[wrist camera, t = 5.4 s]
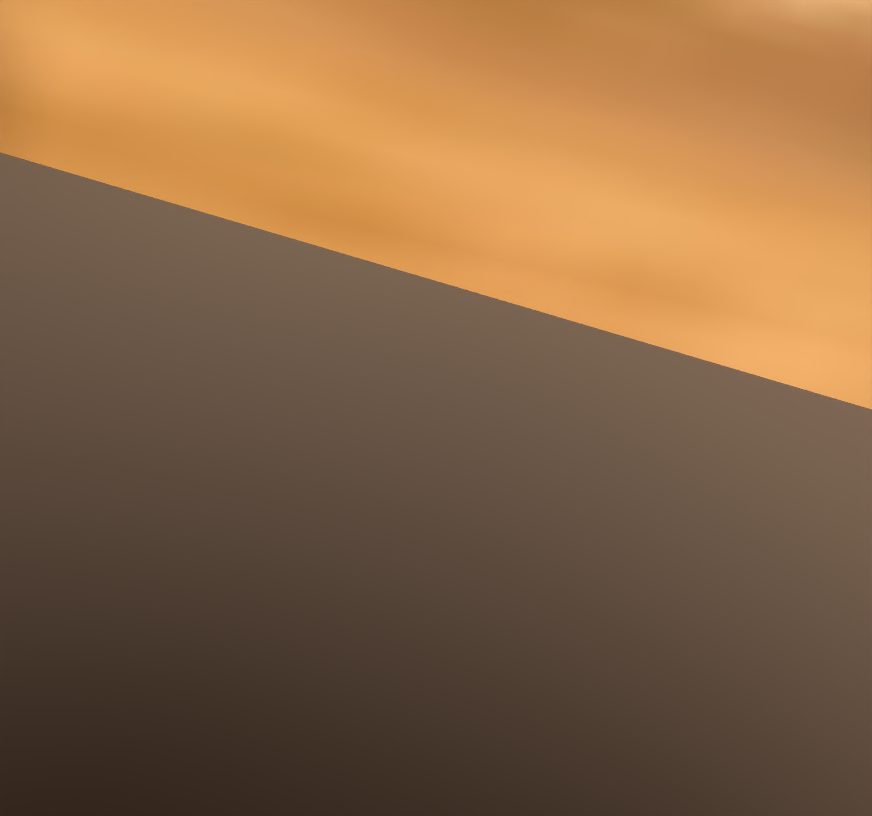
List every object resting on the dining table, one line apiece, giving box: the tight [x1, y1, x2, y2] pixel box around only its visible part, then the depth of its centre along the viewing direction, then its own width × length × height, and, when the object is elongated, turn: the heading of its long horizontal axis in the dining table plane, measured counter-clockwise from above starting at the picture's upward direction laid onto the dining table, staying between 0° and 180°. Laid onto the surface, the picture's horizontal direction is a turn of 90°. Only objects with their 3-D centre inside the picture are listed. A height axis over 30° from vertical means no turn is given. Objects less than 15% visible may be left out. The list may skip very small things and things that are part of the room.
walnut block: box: [0, 153, 872, 816], centre depth 9 cm, size 5×5×13 cm
